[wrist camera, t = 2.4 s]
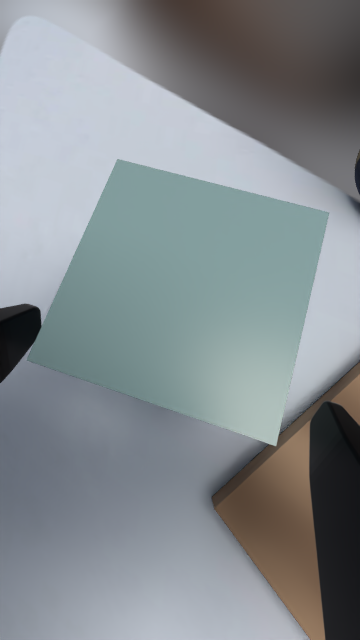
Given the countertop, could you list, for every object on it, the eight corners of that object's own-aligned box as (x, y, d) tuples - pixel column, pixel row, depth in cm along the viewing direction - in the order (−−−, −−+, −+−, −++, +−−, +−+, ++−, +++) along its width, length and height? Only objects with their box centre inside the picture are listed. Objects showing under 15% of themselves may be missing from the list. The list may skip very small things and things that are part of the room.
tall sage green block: (215, 409, 17) (275, 446, 5) (134, 381, 17) (26, 360, 6) (238, 328, 18) (329, 212, 6) (162, 304, 19) (117, 158, 7)
